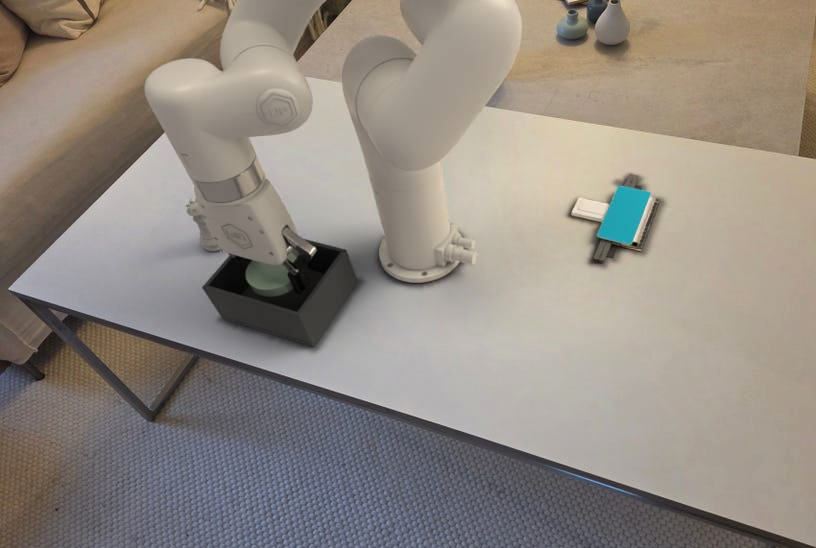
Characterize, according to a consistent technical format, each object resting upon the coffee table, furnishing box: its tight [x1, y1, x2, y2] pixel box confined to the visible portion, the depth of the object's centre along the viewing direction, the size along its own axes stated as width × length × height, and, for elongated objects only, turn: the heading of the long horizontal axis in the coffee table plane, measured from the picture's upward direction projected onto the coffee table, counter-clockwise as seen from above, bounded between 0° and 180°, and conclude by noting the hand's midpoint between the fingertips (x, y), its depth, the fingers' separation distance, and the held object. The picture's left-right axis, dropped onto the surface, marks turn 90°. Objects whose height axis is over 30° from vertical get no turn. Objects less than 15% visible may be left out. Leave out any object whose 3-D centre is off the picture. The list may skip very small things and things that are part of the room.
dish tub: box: [201, 238, 359, 348], centre depth 81 cm, size 15×12×7 cm
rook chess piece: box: [185, 197, 222, 252], centre depth 89 cm, size 4×4×8 cm
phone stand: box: [571, 173, 661, 264], centre depth 89 cm, size 20×12×2 cm, turn 157°
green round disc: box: [246, 252, 297, 297], centre depth 80 cm, size 7×7×3 cm
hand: (278, 278), depth 80 cm, fingers closed on green round disc, 7 cm apart
